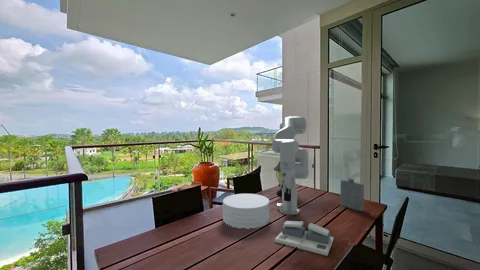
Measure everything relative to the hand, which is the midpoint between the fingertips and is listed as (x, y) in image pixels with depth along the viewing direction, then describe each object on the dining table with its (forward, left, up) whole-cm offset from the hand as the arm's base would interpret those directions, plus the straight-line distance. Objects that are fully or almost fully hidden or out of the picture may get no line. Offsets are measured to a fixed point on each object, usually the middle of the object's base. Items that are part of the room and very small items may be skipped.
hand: (287, 200), depth 118 cm
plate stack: (-29, +8, -18) cm, 35 cm away
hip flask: (+24, +60, -18) cm, 67 cm away
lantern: (-25, +67, -18) cm, 73 cm away
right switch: (+15, 0, -12) cm, 19 cm away
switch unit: (+9, -2, -18) cm, 20 cm away
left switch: (+3, 0, -12) cm, 12 cm away
